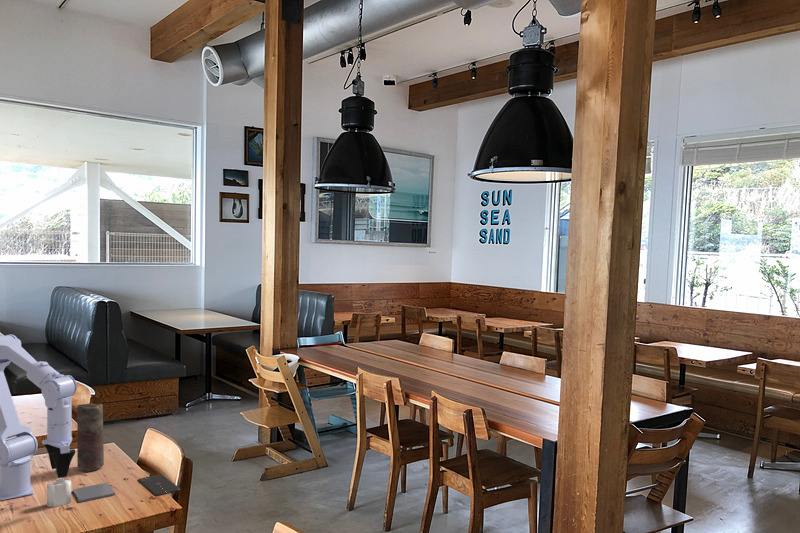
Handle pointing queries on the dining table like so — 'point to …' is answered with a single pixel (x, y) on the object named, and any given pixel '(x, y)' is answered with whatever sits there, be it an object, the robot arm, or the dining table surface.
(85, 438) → the candle
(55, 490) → the charger plug
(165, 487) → the smartphone
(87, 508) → the dining table surface
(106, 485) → the slate coaster
